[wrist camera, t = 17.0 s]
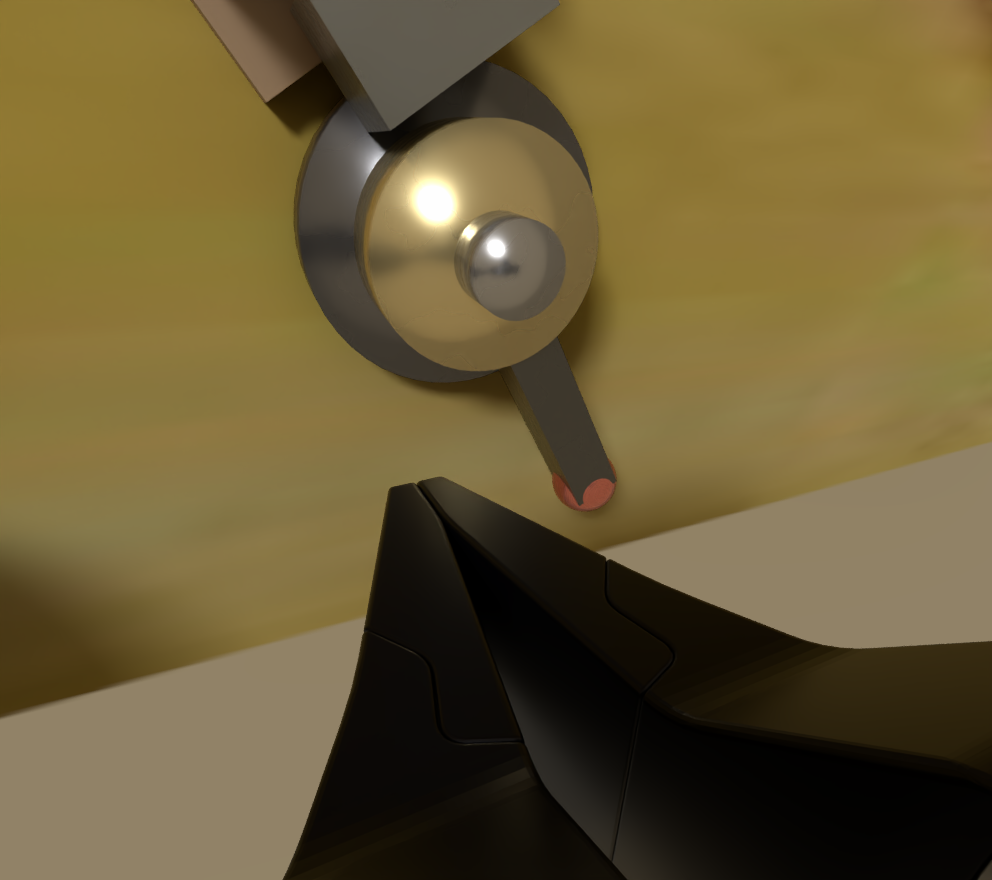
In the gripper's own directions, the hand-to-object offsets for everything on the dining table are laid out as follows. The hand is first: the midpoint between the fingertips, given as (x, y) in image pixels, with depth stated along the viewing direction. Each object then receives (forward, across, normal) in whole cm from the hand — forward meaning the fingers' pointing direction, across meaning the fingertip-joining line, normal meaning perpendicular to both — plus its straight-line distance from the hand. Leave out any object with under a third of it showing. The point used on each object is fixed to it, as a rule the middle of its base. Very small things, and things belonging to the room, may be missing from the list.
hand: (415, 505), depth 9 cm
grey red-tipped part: (+11, -7, +2) cm, 13 cm away
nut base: (+13, -5, -2) cm, 14 cm away
